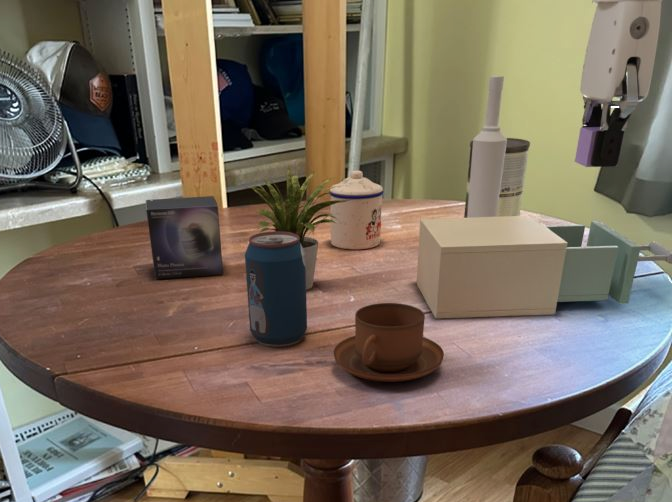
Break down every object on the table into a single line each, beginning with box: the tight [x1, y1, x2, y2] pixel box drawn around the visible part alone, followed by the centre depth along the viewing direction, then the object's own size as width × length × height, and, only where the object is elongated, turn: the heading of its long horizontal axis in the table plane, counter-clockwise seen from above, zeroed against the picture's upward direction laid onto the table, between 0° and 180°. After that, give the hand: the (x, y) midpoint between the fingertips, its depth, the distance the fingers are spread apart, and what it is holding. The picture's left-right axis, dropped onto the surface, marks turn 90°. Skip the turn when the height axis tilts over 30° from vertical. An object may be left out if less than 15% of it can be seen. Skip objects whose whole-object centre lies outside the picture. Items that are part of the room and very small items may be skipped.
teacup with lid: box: [328, 170, 384, 250], centre depth 120 cm, size 12×9×12 cm
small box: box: [145, 195, 224, 280], centre depth 107 cm, size 11×6×10 cm, turn 102°
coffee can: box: [463, 137, 531, 218], centre depth 127 cm, size 10×10×14 cm
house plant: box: [246, 165, 351, 291], centre depth 97 cm, size 14×14×16 cm
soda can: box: [244, 231, 308, 348], centre depth 82 cm, size 7×7×12 cm
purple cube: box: [574, 126, 625, 168], centre depth 88 cm, size 4×4×4 cm
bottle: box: [467, 75, 508, 218], centre depth 111 cm, size 5×5×25 cm
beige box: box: [415, 215, 567, 320], centre depth 94 cm, size 16×15×9 cm
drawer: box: [544, 220, 672, 305], centre depth 94 cm, size 22×13×7 cm, turn 93°
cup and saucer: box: [333, 302, 445, 383], centre depth 76 cm, size 12×12×6 cm
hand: (596, 161), depth 89 cm, fingers closed on purple cube, 4 cm apart
